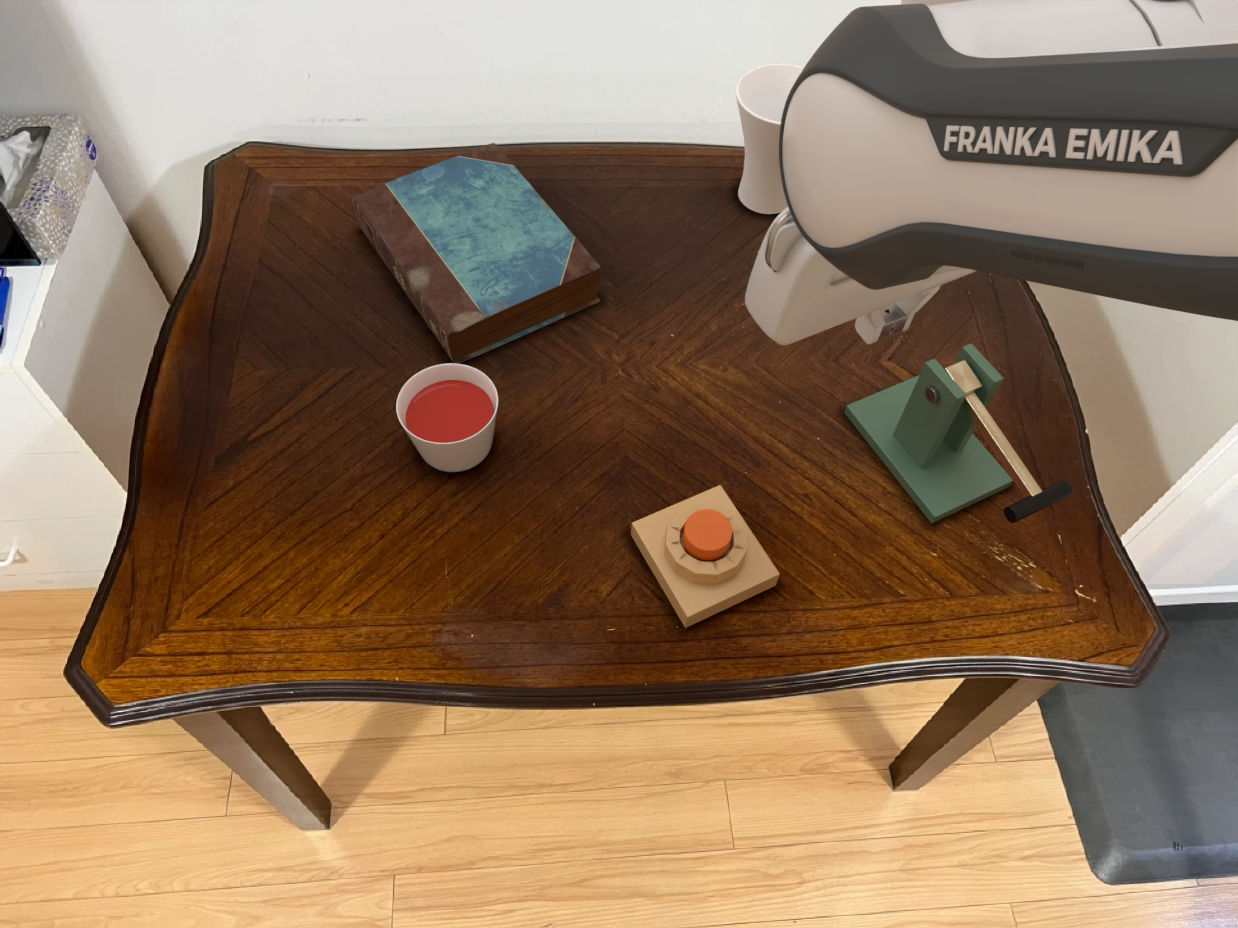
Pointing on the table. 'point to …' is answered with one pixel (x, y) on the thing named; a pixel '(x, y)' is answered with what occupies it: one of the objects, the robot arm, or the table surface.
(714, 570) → the call button
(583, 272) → the book
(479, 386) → the white round tub
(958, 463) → the green lever stand
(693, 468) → the table surface
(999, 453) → the lever handle
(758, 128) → the cup
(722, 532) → the button
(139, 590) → the table surface
